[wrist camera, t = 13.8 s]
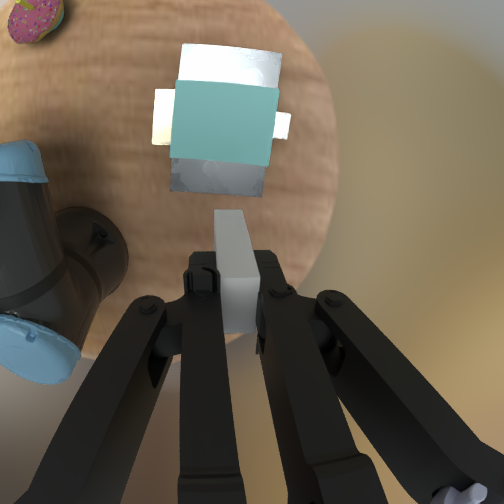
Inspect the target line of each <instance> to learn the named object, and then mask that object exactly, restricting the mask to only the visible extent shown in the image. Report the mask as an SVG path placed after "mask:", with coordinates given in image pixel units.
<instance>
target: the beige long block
mask: <svg viewBox="0 0 504 504" xmlns="http://www.w3.org/2000/svg"><path fill="white" fill-rule="evenodd" d="M174 94H175V90H169V89H156V94H155V105H154V119H153V135H152V144H153V145H170V143H171V128H172V115H173V104H174ZM290 117H291V114H289V113H286V112H280V111H277V112H276V119H275V126H274V133H273V138H279V139H286V140H287V137H288V130H289V124H290Z"/></svg>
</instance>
